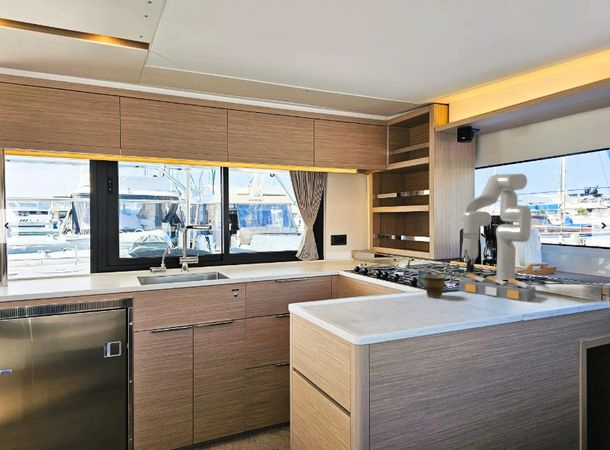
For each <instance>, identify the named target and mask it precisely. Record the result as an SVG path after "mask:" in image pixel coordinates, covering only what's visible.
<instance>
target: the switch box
mask: <svg viewBox="0 0 610 450" xmlns="http://www.w3.org/2000/svg"><path fill="white" fill-rule="evenodd" d="M458 284H459V285H458V286H459V287H458V291H459V292H464V293H471V294H477V295H483V296H489V297H495V298H502V299H507V300H508V299H509V300H514V301H518V300H519V301H520V302H525V301H526V302H530V301H531V300H532V299H534V298H536V286H532V285H528V287H527V288H524V287H521V286H518V285H515V284H513V283H511V282H506V284H504V285H502V284H499V283H497V282H494V281H492V280H489V279H485V281H483V282H481V281H478V280H476V279H473V278H471V277H468V278H464V279H462V280H460V281H458ZM519 301H518V302H519Z"/></svg>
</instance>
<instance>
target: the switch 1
mask: <svg viewBox="0 0 610 450" xmlns="http://www.w3.org/2000/svg"><path fill="white" fill-rule="evenodd" d="M466 277H468V278H473V279H476V280H478V281H481V282H483V281H485V280H486V278H484V277H482V276H479V275H477V274H474V273H473V272H472V273H471V272H468V273H467V274H466Z"/></svg>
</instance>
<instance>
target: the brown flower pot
mask: <svg viewBox="0 0 610 450" xmlns="http://www.w3.org/2000/svg"><path fill="white" fill-rule="evenodd" d="M419 278H421V279H423V280H424V282H425V286H423V285H422V284H421V283H420V282H419V281H418V279H419ZM419 278H418V277H417V283H418V282H419V283H420V284H421V285H422V286H423V287H422V288H424V289H425V292H426V296H427V298H432V299H439V298H442V297H443V292H444V286H445V281H446V276H445V275H443V274H437V273H431V274H426V275H424V278H422V277H419Z"/></svg>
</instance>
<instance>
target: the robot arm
mask: <svg viewBox="0 0 610 450" xmlns="http://www.w3.org/2000/svg"><path fill="white" fill-rule="evenodd" d="M527 185H528V178H527V176H526V175H525V174H524V173H505V174H503V173H502V174H495V175H492V176H490V177H488V180H487V182H486V185H485V187H484V189H483V190H482V192H481V194H480V195H479V196H476V197H475V198H474V199H473V200H471V201H470V202H468V204H467V205H466V206H465V208H464V210H463V213H462V217H461V221H462V223H463V224H462V225H463V228H462V229H463V230H462V234H463V235H462V239H463V241H462V247H461V259H464V262H465V264H466V269H465V270H466V271H465V272H467V273H472V274H473V273H474V272H475V261H476V259H477V258H478V256H479V240H480V227H486V226H488V225H490V224H491V222H492V215H491V214H490V213H489V212H488V211H481V210H482V209H483V208H485V207H489V206H492V205H494V204H496V203H497V202H498V200H499V198H500V208H499V217H500V220H501V221H503V222H508V223H509V222H510V223H511V224H510V223H509V224H508V223H503V224H499V225H498V226H497V227H496V228H495V229H496V230H495V236H496V244H497V247H496V248H497V251H496V253H497V254H496V255H497V256H496V274H495V275H493V277H496V278H498V279H501V280H509V279H511V278H512V279H514V278H516V277H517V276H516V256H517V255H516V254H517V253H516V250H517V249H516V246H515V245H514V243H513V242H518V243H526V242H528V241H529V239H530V237H531V227H532V226H531V224H532V210H531V208H530V207H529V206H527V205H520V204H519V205H518V195H517V193H516V192H515V191H519V190H523V189H525V188H526V187H527ZM479 210H480V211H479ZM512 223H519V224H512Z"/></svg>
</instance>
